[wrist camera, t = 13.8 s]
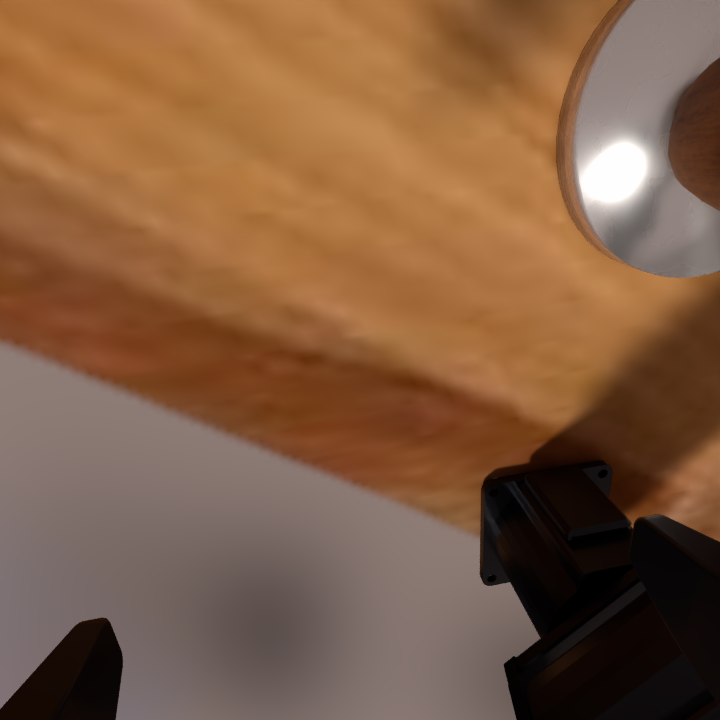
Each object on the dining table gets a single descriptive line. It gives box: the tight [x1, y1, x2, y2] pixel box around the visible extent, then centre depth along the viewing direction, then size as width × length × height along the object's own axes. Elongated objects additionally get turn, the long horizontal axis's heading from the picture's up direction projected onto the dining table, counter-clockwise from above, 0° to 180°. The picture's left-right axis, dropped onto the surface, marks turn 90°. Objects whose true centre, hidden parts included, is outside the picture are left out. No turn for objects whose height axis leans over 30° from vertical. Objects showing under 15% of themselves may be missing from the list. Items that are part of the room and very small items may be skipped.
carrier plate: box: [556, 0, 720, 278], centre depth 19 cm, size 11×11×2 cm
